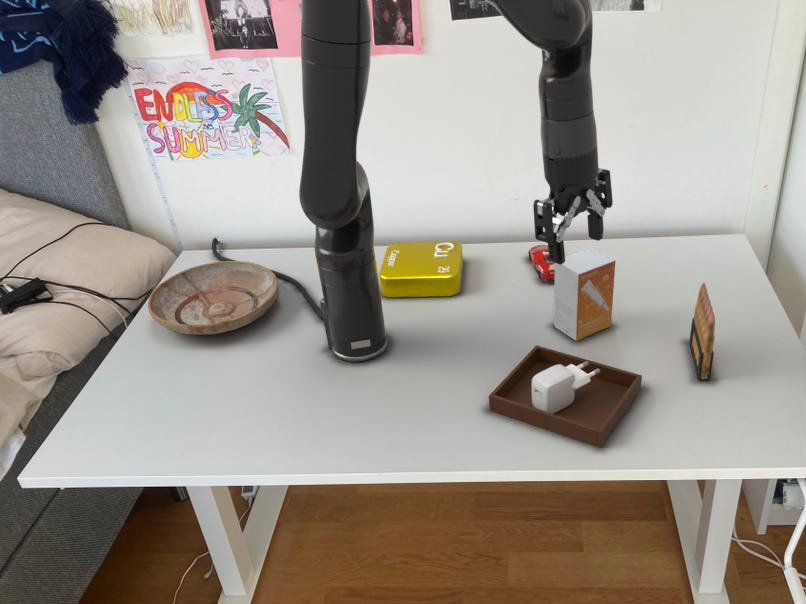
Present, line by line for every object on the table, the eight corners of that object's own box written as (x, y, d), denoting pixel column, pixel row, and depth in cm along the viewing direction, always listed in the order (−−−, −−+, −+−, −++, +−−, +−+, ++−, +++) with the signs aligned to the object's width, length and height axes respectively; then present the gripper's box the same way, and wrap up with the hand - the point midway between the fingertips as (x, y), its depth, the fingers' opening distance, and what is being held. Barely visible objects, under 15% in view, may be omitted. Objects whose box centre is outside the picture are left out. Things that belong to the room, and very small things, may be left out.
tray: (489, 410, 118) (488, 395, 117) (536, 359, 129) (536, 344, 127) (600, 447, 110) (601, 432, 108) (640, 389, 120) (642, 375, 119)
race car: (526, 255, 159) (526, 237, 157) (552, 252, 159) (552, 234, 157) (541, 286, 148) (541, 267, 146) (569, 283, 149) (569, 264, 146)
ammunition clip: (688, 342, 130) (697, 279, 124) (700, 342, 130) (709, 279, 123) (697, 380, 122) (707, 315, 115) (710, 381, 121) (720, 315, 115)
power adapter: (582, 377, 123) (583, 346, 120) (603, 391, 120) (605, 360, 117) (527, 405, 118) (527, 374, 115) (549, 421, 115) (549, 389, 112)
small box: (576, 342, 132) (578, 274, 125) (553, 326, 136) (553, 259, 129) (612, 326, 136) (616, 259, 128) (588, 311, 140) (591, 245, 133)
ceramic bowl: (137, 352, 136) (128, 328, 133) (175, 286, 155) (168, 263, 152) (270, 344, 136) (264, 320, 133) (292, 279, 155) (287, 256, 152)
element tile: (390, 261, 160) (387, 239, 157) (463, 259, 159) (462, 237, 156) (380, 298, 147) (377, 276, 145) (459, 296, 146) (457, 274, 144)
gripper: (582, 123, 113) (588, 225, 122) (513, 158, 105) (525, 264, 115) (624, 131, 108) (627, 237, 117) (554, 168, 100) (564, 278, 110)
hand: (577, 250), depth 116 cm, fingers open, 8 cm apart
